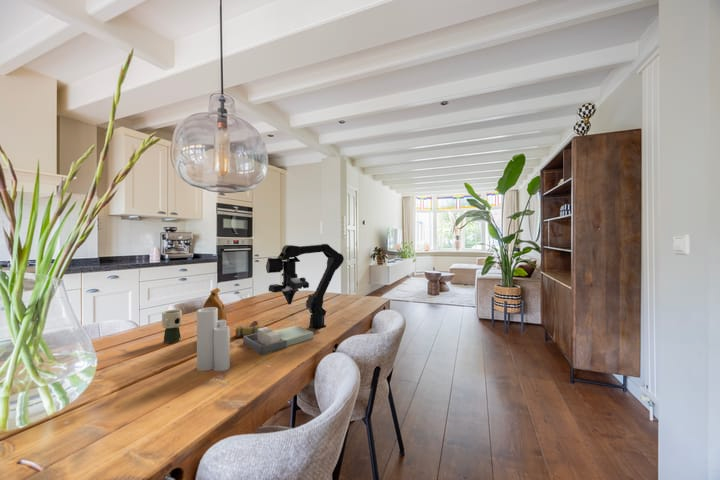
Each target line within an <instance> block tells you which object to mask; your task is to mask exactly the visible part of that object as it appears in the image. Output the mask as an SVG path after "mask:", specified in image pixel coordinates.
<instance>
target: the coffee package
mask: <svg viewBox="0 0 720 480" xmlns="http://www.w3.org/2000/svg"><path fill="white" fill-rule="evenodd" d="M220 292H221V289H220V288H218V287H216V288H214V289H213V290H210V295H209V296H208V298H207V299H206V300H205V302H204V305H203V306H202V308H209V307H215V308H218V320H226V324H227V312H226V307H225V304H224V302H223V301H222V300H221V299H220V297H219V293H220Z"/></svg>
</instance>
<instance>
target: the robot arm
mask: <svg viewBox="0 0 720 480" xmlns="http://www.w3.org/2000/svg"><path fill="white" fill-rule="evenodd" d="M314 253H316V254H317V253H323V255H324V256H325V257H326V258H327V260H326V268H325V270H324V272H323V274H322V277H321V278H320V280H319V283H318V286H317V287H316V290H315V291H314V293H313V294H312V295H311V294H308V297H307V299H306V301H305V303H306V304H305V307H306V309H307V310H308V311H309V314H310V318H309V324H308V327H309V328H313V329H315V330H319V329H321V328H326V327H327V325H326V324H325V316H326V313H327V311H326V309H324V307H323V305H324V296H325V294H326V292H327V289H328V287H329V286H330V283H331V281H332V278H333V277H334V274H335V272H336V271H337V270H338V269H339V268H340V267H341V266H342V264H343V262H344V259H345V257H344V255H343V254H342V253H341V252H338V251H337V250H335V249H334V247H333V248H332V246H330V245H329V244H328V243H322V244H310V245H302V246H300V245H293V244H286V245H283V247H282V248H281V252H280V254H279V255H278V256H277V257H275V258H274V257H268V258H267V261H266V265H265V269H266V270H265V271H266V273H267V274H274V273H275V274H276V273H281V272H283V273H281V277H282V278H283V279H282V281H281V284H277V283H275V284H273V283H272V284H269V286H268V291H269V292H271V293H282V294H283V296H284V298H285V300H286V302H287V305H289V306H290V305H292V302H293V299H294V298H295V297H294V296H295V295H296V293H298V292H299V291H300V289H302V288H303V289H308V288H310V283H309V281H307V280H306V277H304V276H302V277H300V278H299V277H298V273H296V271H297V269H296V263H299V262H301V260H300V259H299V258H298V257H299V256H301V255H305V254H314Z"/></svg>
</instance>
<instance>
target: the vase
mask: <svg viewBox="0 0 720 480" xmlns="http://www.w3.org/2000/svg"><path fill="white" fill-rule="evenodd" d="M230 339H231V338H230V326H227V323H226V320H218V308H215V307H209V308H203V307H202V308H199V309H197V310H196V368H197V371H200V372H206V371H207V372H208V371H211V370H213V371H214V372H225V371H227V370H229V369H230V368H231V367H230V365H231V364H230V363H231V360H230V359H231V357H230V355H231V353H230V350H231V349H230V347H231V345H230V344H231V343H230Z"/></svg>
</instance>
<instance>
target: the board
mask: <svg viewBox="0 0 720 480" xmlns="http://www.w3.org/2000/svg"><path fill="white" fill-rule="evenodd" d="M272 332H276V333H278V334H280V341H283V340H287V347H288V346H292V345H294V344H299V343H302V342H305V341H308V340H312V339H314V332H313V331H312V330H308V329H306V328H303V327H301V326H298V325H292V326H289V327H288V326H287V327H286V328H281V329H277V330H273V331H272Z"/></svg>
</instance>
